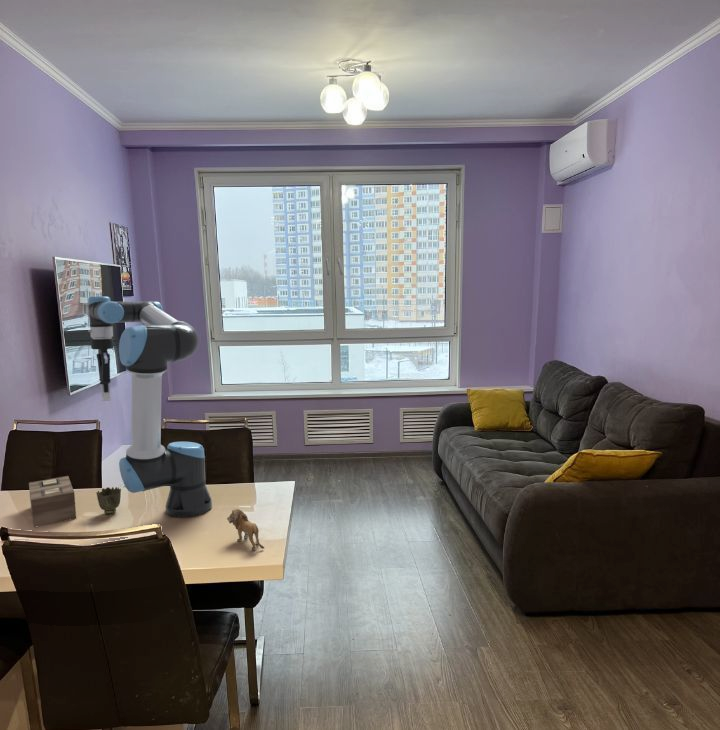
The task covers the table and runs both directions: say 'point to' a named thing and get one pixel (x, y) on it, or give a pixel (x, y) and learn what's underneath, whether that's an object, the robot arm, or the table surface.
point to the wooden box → (52, 501)
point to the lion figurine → (244, 527)
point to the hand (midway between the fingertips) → (106, 400)
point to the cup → (109, 499)
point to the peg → (49, 482)
